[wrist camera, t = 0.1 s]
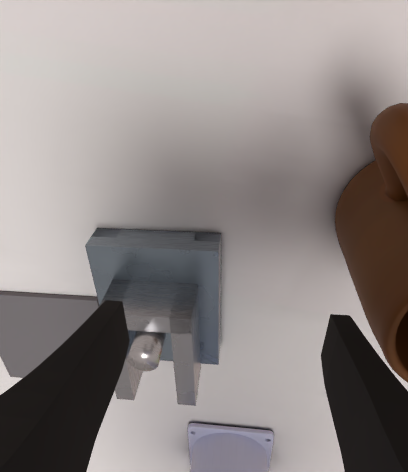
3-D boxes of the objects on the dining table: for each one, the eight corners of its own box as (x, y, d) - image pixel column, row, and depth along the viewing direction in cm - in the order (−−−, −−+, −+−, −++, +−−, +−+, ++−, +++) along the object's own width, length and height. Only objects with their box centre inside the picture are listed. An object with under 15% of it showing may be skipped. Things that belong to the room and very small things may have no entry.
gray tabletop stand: (200, 367, 26) (195, 405, 24) (129, 361, 27) (117, 398, 24) (197, 283, 22) (190, 319, 20) (112, 279, 23) (95, 313, 20)
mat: (118, 381, 32) (117, 385, 32) (12, 372, 33) (10, 376, 33) (98, 297, 26) (96, 300, 26) (-28, 289, 28) (-31, 292, 27)
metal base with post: (220, 343, 28) (213, 417, 23) (119, 335, 29) (92, 406, 24) (221, 233, 22) (212, 299, 17) (97, 228, 23) (54, 289, 18)
